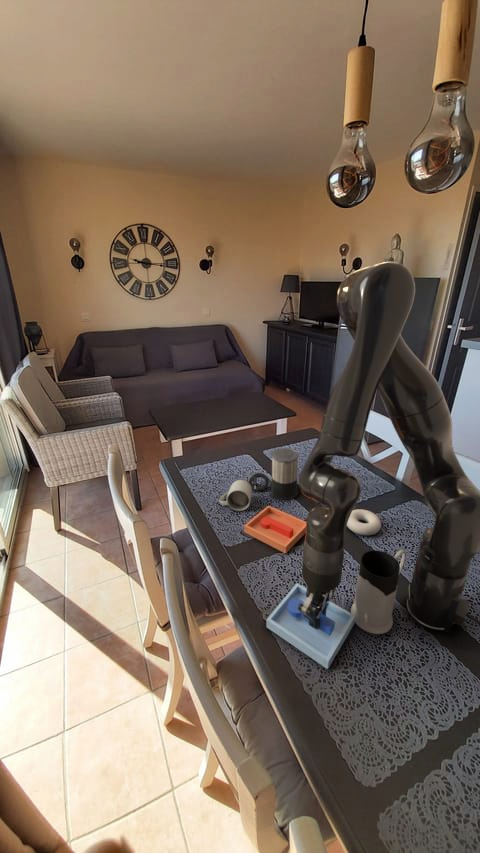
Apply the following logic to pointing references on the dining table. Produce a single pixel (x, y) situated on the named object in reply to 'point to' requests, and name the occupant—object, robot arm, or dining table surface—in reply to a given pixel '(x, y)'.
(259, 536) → the terracotta tray
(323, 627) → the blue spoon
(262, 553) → the dining table surface
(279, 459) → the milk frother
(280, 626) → the blue tray
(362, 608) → the grey pitcher
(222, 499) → the ceramic mug
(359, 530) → the donut
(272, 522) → the red spoon
